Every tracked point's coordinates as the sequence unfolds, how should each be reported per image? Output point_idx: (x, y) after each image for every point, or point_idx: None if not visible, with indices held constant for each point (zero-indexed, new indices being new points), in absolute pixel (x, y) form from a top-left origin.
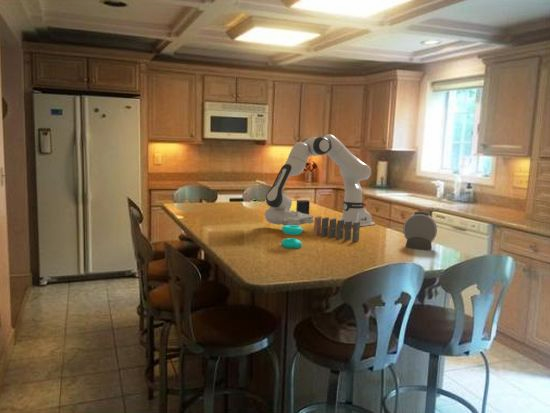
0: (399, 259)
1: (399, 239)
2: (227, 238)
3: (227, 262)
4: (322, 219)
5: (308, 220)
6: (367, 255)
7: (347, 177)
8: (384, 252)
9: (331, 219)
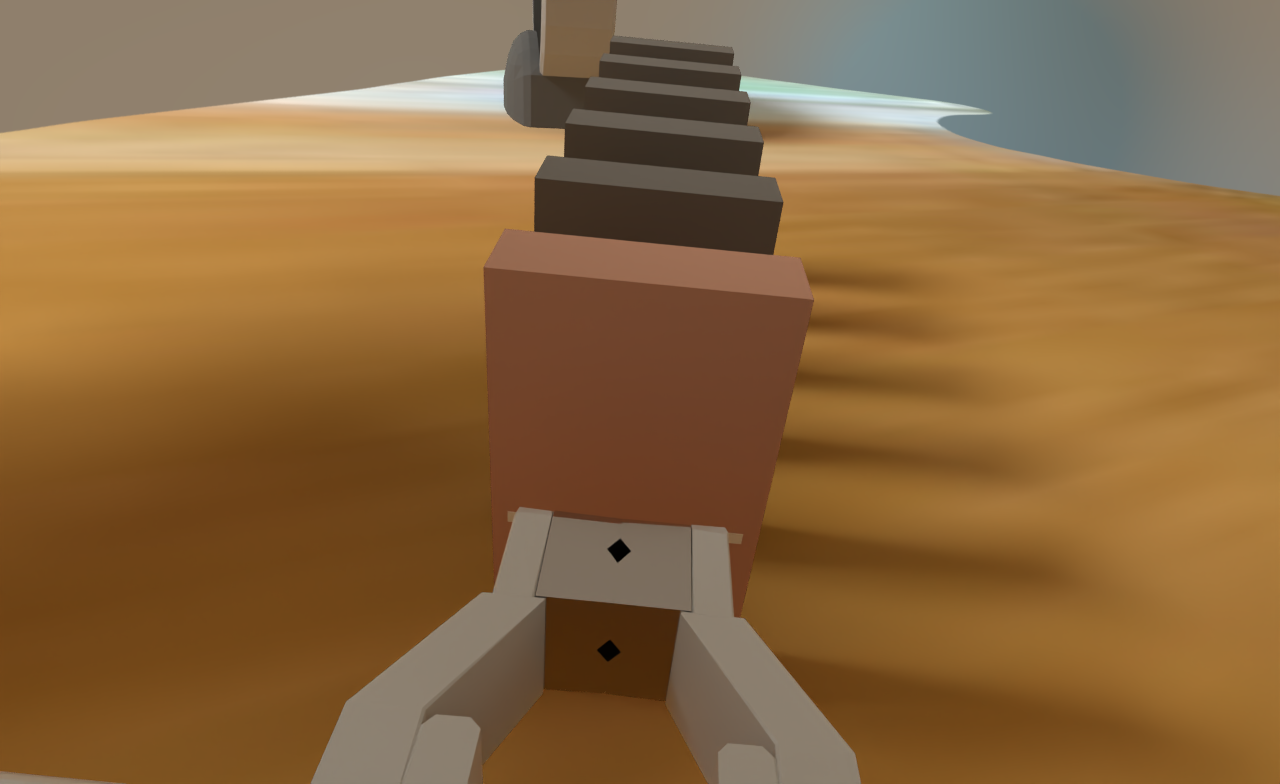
0: (950, 146)
1: (343, 136)
2: None
3: None
4: (776, 226)
5: (728, 630)
6: (1053, 206)
7: None
8: (870, 171)
9: (749, 132)
